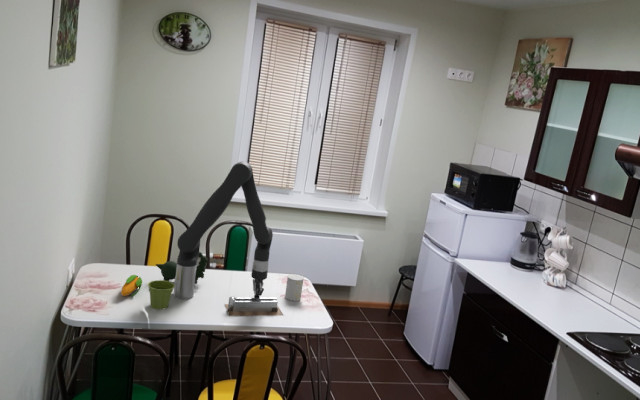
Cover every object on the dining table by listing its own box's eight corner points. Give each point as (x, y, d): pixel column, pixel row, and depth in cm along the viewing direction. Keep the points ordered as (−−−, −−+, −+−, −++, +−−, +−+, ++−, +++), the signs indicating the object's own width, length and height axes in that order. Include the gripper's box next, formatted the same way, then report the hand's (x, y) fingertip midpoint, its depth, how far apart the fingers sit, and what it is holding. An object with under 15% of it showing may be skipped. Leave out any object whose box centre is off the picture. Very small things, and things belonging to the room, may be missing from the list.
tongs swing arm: (235, 308, 256) (236, 298, 255) (234, 307, 258) (235, 297, 257) (275, 308, 263) (277, 298, 262) (275, 307, 265) (276, 297, 264)
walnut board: (229, 317, 249) (229, 315, 248) (224, 306, 260) (224, 304, 260) (283, 317, 258) (283, 315, 258) (276, 305, 270) (276, 304, 270)
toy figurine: (202, 284, 288) (154, 276, 283) (209, 250, 285) (160, 242, 280) (201, 291, 279) (151, 283, 274) (208, 256, 275) (158, 247, 271)
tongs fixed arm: (228, 312, 252) (230, 300, 251) (227, 308, 256) (228, 296, 255) (277, 311, 261) (279, 299, 260) (275, 308, 264) (276, 296, 263)
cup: (294, 303, 276) (297, 281, 274) (281, 298, 280) (284, 276, 278) (303, 299, 283) (306, 277, 280) (290, 294, 287) (293, 273, 285)
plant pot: (171, 314, 244) (174, 290, 242) (144, 312, 241) (146, 288, 239) (173, 303, 255) (175, 280, 253) (147, 302, 253) (149, 279, 251)
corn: (145, 272, 268) (132, 286, 248) (145, 286, 270) (132, 302, 250) (130, 271, 268) (115, 285, 248) (130, 285, 269) (115, 301, 250)
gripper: (249, 263, 264) (245, 296, 268) (255, 273, 252) (251, 307, 256) (264, 263, 267) (260, 296, 271) (271, 273, 255) (267, 307, 259)
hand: (256, 301), depth 263 cm, fingers closed
